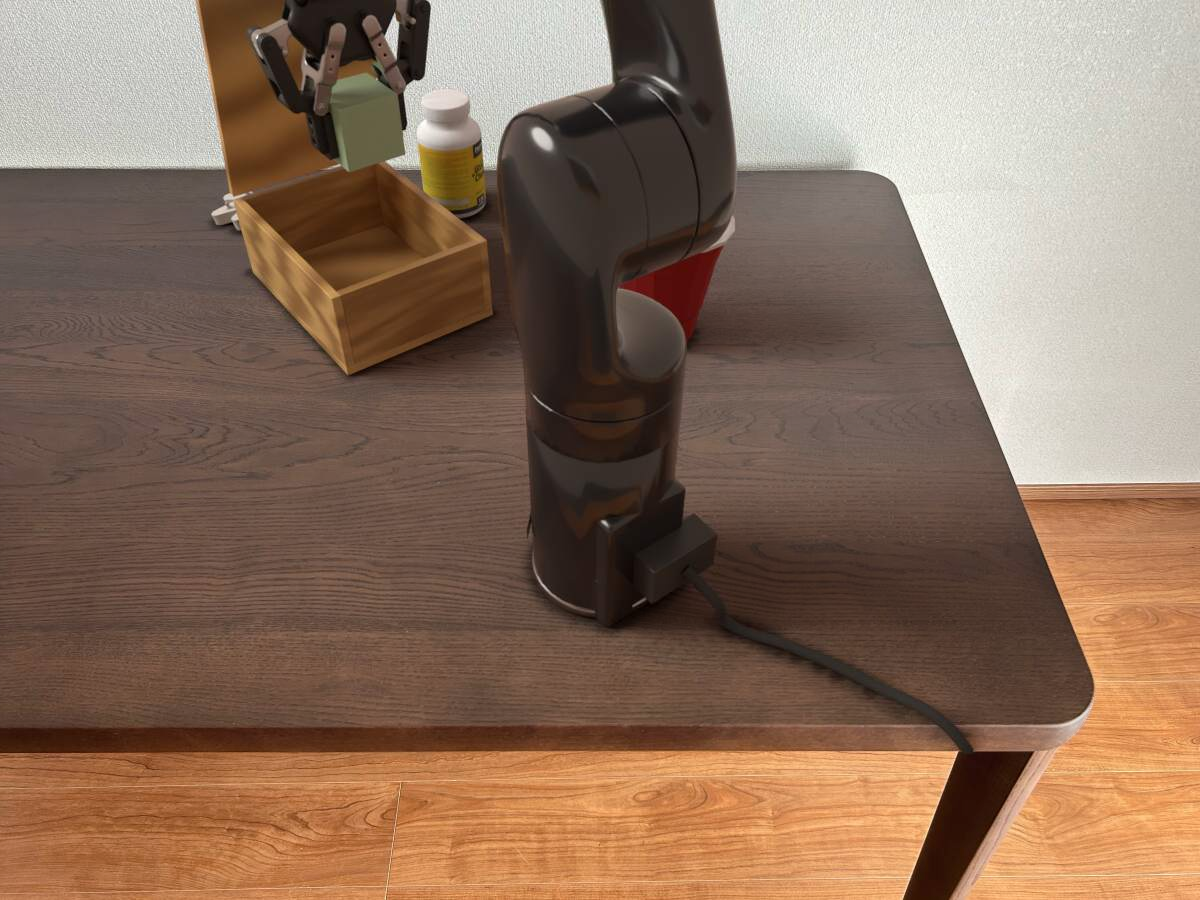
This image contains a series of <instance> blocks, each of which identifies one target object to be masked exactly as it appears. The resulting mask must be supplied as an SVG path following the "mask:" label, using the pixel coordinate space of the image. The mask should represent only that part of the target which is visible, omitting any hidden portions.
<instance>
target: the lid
mask: <svg viewBox="0 0 1200 900" xmlns="http://www.w3.org/2000/svg"><path fill="white" fill-rule="evenodd" d="M194 1H195V5H196V12H197V17H198V22H199V28H200V33H201V37H202V38H201V39H202V44H203V50H204V56H205V61H206V66H207V67H206V68H207V72H208V79H209V83H210V89H211V90H210V91H211V96H212V101H213V107H214V112H215V118H216V123H217V128H218V133H219V134H218V135H219V139H220V145H221V151H222V157H223V162H224V167H225V174H226V179H227V183H228V190H229V193H231V194H232V196H233V197H235V196H238V195H242V194H245V193H248V192H251V191H252V192H255V191H258V190H261V189H264V188H268V187H270V186H273V185H276V184H277V185H278V184H280V183H284V182H286V181H287V182H288V181H290V180H293V179H296V178H299V177H304V176H305V175H309V174H312V173H316V172H320V171H323V170H326V169H328V168H329V169H330V168H332V167H336V166H339V165H340V164H339V163H337V162H336V161H335V160H334V159H333V160H329V159H328V158H327V157H326V156H325V155H323V154H321V153H320V152H319V151H318V150H317V149H315V148H314V146H313V145H312V143H311V139H310V135H309V130H308V125H307V120H306V115H305V113H304V112H302V113H300V114H295V113H293V112H291V111H290V110H289V109H288V108H286V107H285V106H284V105H283V104H282V103H280V102H279V101H278V100H277V99H276V97H275V94H274V92H273V90H272V88H271V86H270V84H269V82H268V80H267V78H266V76H265V74H264V71H263V69H262V67H261V65H260V63H259V61H258V59H257V57H256V55H255V53H254V51H253V48H252V46H251V44H250V42H249V40H248V38H247V30H248V29H249V28H250V27H251V26H259V27H260V28H261V29H263V28H265V27H267V26H269V25H271V24H273V23H274V22H276V21H278V20H280V19H282V17H281V15H282V10H283V7H284V0H194ZM288 47H289V53H288V56H286V57H285V60H286V62H287V65H288V67H289V69H290V71H291V73H292V76H293V78H294V80H295V82H296V84H297V87H298V89H299V90H301V84H302V76H303V73H302V70H301V60H302V53H303V45H302V44H301V43H300V42H299V41H298V40H297V39H296V38H294V37H293V36H292V35H291V36H290V37H289V39H288ZM320 62H321V61H320ZM362 73H368V74H369V75H371V76H372V77H374V78H375V79H377V78H376V76H375V74H374V72H373V70H372V68H371V66H370V64H369V63H368V61H367V60H366V61H353V62H351V63H349V64H347V65H346V66H343V67H339V70H338V76H337V80H340V79H344V78H347V77H351V76H355V75H358V74H362Z"/></svg>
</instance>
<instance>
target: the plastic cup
mask: <svg viewBox="0 0 1200 900" xmlns="http://www.w3.org/2000/svg"><path fill="white" fill-rule="evenodd" d="M735 232H736V221H735V217H734V215H732V217H731V220H730V223H729V225H728V227H727V229H726V231H725V232H724V233H723V235H722V236H721V238H720V239H719V240H718V241H717V242H716V243H715V244H713V245H712V246H711V247H709V248H708V249H706V250H704V251H702V252H701V253H699V254H696V255H694V256H692V257H689V258H687V259H685V260H682V261H680V262H678V263H675V264H672V265H670V266H668V267H665V268H663V269H660V270H658V271H655V272H652V273H650V274H647V275H645V276H642V277H640V278H637V279H635V280H632V281H630V282H627V283H625V284H622V285H619V286H618V288H621V289H626V290H630V291H634V292H637V293H640V294H643V295H645V296H648V297H650V298H652V299H654V300H656V301H657V302H659V303H661V304H662V305H663V306H665V307H666V308H667V309H668V310H669V311H671V312H672V313H673V314H674V315H675V316H676V318H677V319H678V321H679V322H680V324H681V326H682V327H683V330H684V333H685V336H686V342H687V343H688V342H689V340H690V339H691V337H692V334H693V333H694V331H695V329H696V324H697V321H698V317H699V315H700V311H701V310H702V308H703V304H704V302H705V298H706V296H707V292H708V289H709V285H710V283H711V279H712V276H713V274H714V270H715V267H716V265H717V262H718V260H719V259H720V255H721V253H722V250H723V249H724V247H725V244H726V243H727V242H728V241H729V240H730V238H732V236H733V235H734V233H735Z"/></svg>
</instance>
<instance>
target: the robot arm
mask: <svg viewBox="0 0 1200 900" xmlns="http://www.w3.org/2000/svg"><path fill="white" fill-rule="evenodd" d="M599 4H600V8H601V12H602V16H603V20H604V25H605V30H606V37H607V43H608V48H609V56H610V65H611V83H608V84H605V85H602V86H598V87H594V88H591V89H588V90H584V91H583V90H582V91H580V92H576V93H573V94H570V95H566V96H564V97H563V96H562V97H559V98H554V99H551V100H549V101H545V102H542V103H538V104H536V105H532V106H530V107H527V108H524V109H523V110H521V111H519V112H517V113H516V114H515V115H514V116H513V117H512V118H510V120H509V121H508V122H507V124H506V126H505V127H504V130H503V132H502V134H501V138H500V141H499V145H498V149H497V160H496V191H497V200H498V201H497V202H498V211H499V219H500V226H501V233H502V241H503V247H504V255H505V263H506V272H507V273H506V274H507V282H508V292H509V301H510V311H511V316H512V321H513V325H514V329H515V331H516V337H517V341H518V344H519V347H520V352H521V356H522V368H523V384H524V385H523V387H524V402H525V404H524V405H525V425H526V426H525V427H526V445H527V447H526V448H527V462H528V464H527V465H528V481H529V500H530V502H529V503H530V514H529V518H528V522H527V526H526V540H528V539H529V534H530V530H531V533H532V535H531V536H532V557H531V558H532V559H531V560H532V561H531V563H532V572H533V576H534V579H535V582H536V584H537V586H538V587H539V588H540V590H541V592H542V593H543V594H544V595H545V596H546V598H548V600H549V601H551V603H554V604H555V605H556V606H558V607H559V608H560V609H563V610H565V611H568V612H569V613H572V614H576V615H580V616H584V617H590V618H595V619H596V620H598V621H599V622H600V624H601V625H602V626H603V627H605V628H608V627H611V626H613V625H614V624H616V623H618V622H619V621H621V620H622V619H624V618H625V617H627V616H629V615H630V614H632V613H633V612H635V611H637V610H639V609H641V608H643V607H645V606H646V605H647V604H648V603H650V604H651V605H653V604H654V603H656V602H657V601H660V599H663V598H664V597H665V596H667V595H669V594H670V593H671V592H673V591H675V590H676V589H678V588H680V587H681V586H683V585H684V584H685V583H689V584H691V585H692V587H694V588H695V590H697V592H698V593H700V594H701V595H702V597H703V598H704V599H705V600H706V601H707V602H708V603H709V604H710V605H711V607H712V608H713V609H714V618H715V620H716V622H717V623H718V624H719V625H721V626H722V627H723V628H724V629H726V630H728V631H729V632H732V633H734V634H735V635H738V636H740V637H742V638H745V639H748V640H751V641H753V642H754V641H755V642H757V643H760V644H764V645H768V646H771V647H775V648H778V649H781V650H783V651H787V652H789V653H791V654H793V655H796V656H799V657H801V658H802V659H803V658H804V659H806V660H808V661H810V662H813V663H815V664H818V665H819V666H822V667H824V668H826V669H828V670H831V671H833V672H835V673H837V674H839V675H841V676H843V677H845V678H847V679H850V680H851V681H853V682H855V683H857V684H859V685H861V686H862V687H865V688H867V689H868V690H870V691H872V692H874V693H876V694H879V695H880V696H882V697H884V698H887V699H888V700H891V701H892V702H896V703H898V704H900V705H902V706H903V707H906V708H908V709H911V710H912V711H914V712H916V713H917V714H920V715H921V716H923V717H924V718H926V719H928V720H929V721H930V722H932V723H933V724H935V725H936V726H937V727H938V728H940V729H941V731H943V732H944V733H945V734H946V735H947V736H948V737H949V739H950V740H951V741H952V742H953V743H954V745H955V746H956V747H957V748H958V751H960V752H961V753H963V754H964V755H972V754H973V753H974V748H973V746H972V744H971V743H970V741H969V740H968V739H967V737H966V736H965V734H964V733H963V732H962V731H961V730H960V728H958V727H957V726H956V725H955V723H953V722H952V721H951V720H950V719H949V718H947V716H945V715H944V714H943V713H941V712H939V710H937V709H936V708H934V707H932V706H931V705H929V704H927V703H926V702H924V701H922V700H920V699H918V698H916V697H914V696H912V695H910V694H908V693H906V692H904V691H901V690H899V689H897V688H895V687H893V686H890V685H889V684H886V683H884V682H882V681H880V680H878V679H876V678H873V677H872V676H870V675H868V674H866V673H864V672H863V671H860V670H858V669H857V668H854V667H852V666H851V665H849V664H846V663H845V662H843V661H840V660H838V659H836V658H834V657H832V656H829V655H827V654H824V653H822V652H820V651H817V650H816V649H813V648H810V647H808V646H806V645H803V644H802V643H798V642H796V641H794V640H791V639H788V638H785V637H782V636H779V635H776V634H773V633H769V632H765V631H762V630H758V629H756V628H752V627H749V626H747V625H744V624H742V623H740V622H738V621H736V620H735V619H733V618H731V617H729V615H728V614H727V607H726V604H725V602H724V601H723V599H722V598H721V596H720V595H719V594H718V593H717V592H716V591H715V589H713V588H712V587H711V585H710V584H709V583H708V582H707V581H706V580H705V579H704V578H703V577H702V576H701V575H700V574H702V573H703V572H705V571H706V570H708V569H710V568H711V567H712V566H714V563H715V557H716V549H717V542H718V537H719V536H718V533H717V532H716V531H715V530H714V529H713V528H711V526H709V525H708V524H707V523H706V522H705V521H704V520H703V519H701V518H700V517H699V516H698V515H697V514H696V513H692V514H690V515H688V516H687V517H685V518H684V512H685V511H684V510H685V499H686V490H687V489H686V487H685V486H684V485H683V484H682V483H681V482H680V481H679V480H677V478H676V470H677V460H678V448H679V439H680V430H681V429H680V428H681V419H682V408H683V399H684V386H685V378H686V376H685V375H686V368H687V357H688V345H687V343H688V341H687V342H686V336H685V333H684V330H683V327H682V326H681V324H680V322H679V321H678V319H677V318H676V316H675V315H674V314H673V313H672V312H671V311H669V310H668V309H667V308H666V307H665V306H663V305H662V304H661V303H659V302H657V301H656V300H654V299H652V298H650V297H648V296H645V295H643V294H640V293H637V292H634V291H630V290H626V289H621V288H619V285H622V284H625V283H627V282H630V281H632V280H635V279H637V278H640V277H642V276H645V275H647V274H650V273H652V272H655V271H658V270H660V269H663V268H665V267H668V266H670V265H672V264H675V263H678V262H680V261H682V260H685V259H687V258H689V257H692V256H694V255H696V254H699V253H701V252H702V251H704V250H706V249H708V248H709V247H711V246H712V245H713V244H715V243H716V242H717V241H718V240H719V239H720V238H721V236H722V235H723V233H724V232H725V231H726V229H727V227H728V225H729V223H730V220H731V217H732V216H733V213H734V210H735V206H736V199H737V187H738V186H737V185H738V158H737V156H738V155H737V145H736V144H737V143H736V136H735V127H734V120H733V111H732V105H731V99H730V91H729V85H728V79H727V72H726V66H725V65H726V64H725V60H724V54H723V47H722V41H721V40H722V39H721V34H720V33H721V32H720V26H719V20H718V15H717V7H716V2H715V0H599ZM431 11H432V6H431V2H429V1H428V0H284V7H283V10H282V15H281V17H282V19H280V20H278V21H276V22H274V23H273V24H271V25H269V26H267V27H265V28H263V29H261V28H260V27H259V26H251V27H250V28H249V29H248V30H247V38H248V40H249V42H250V44H251V46H252V48H253V51H254V53H255V55H256V57H257V59H258V61H259V63H260V65H261V67H262V69H263V71H264V74H265V76H266V78H267V80H268V82H269V84H270V86H271V88H272V90H273V92H274V94H275V97H276V99H277V100H278V101H279V102H280V103H282V104H283V105H284V106H285V107H286V108H288V109H289V110H290V111H291V112H293V113H295V114H300V113H302V112H304V113H305V115H306V120H307V125H308V130H309V135H310V139H311V143H312V145H313V146H314V148H315V149H317V150H318V151H319V152H320V153H321V154H323V155H325V156H326V157H327V158H328V159H329V160H333V159H336V158H339V151H338V145H337V140H336V135H335V129H334V124H333V118H332V114H331V113H330V112H328V111H329V105H330V99H331V92H332V87H333V86H335V85H336V82H337V76H338V70H339V67H343V66H346V65H347V64H349V63H351V62H353V61H366V60H367V61H368V63H369V64H370V66H371V68H372V70H373V72H374V74H375V76H376V79H377V80H378V81H379V82H381V83H382V84H384V85H385V86H387V87H388V88H390V89H391V90H392V91H394V92H395V93H397V95H398V102H399V110H400V117H401V125H402V132H403V133H404V132H405V131H406V130H407V127H408V117H407V109H406V101H405V91H406V89H407V86H408V85H409V84H410V83H412V82H413V81H415V82H419V81H421V80H423V79H424V77H425V75H426V66H427V55H428V46H429V33H430V22H431ZM394 16H395V20H396V21H397V22H398V32H397V44H396V45H397V46H396V57H395V54H394V53H393V51H392V48H391V47H390V45H389V43H388V40H387V39H386V34H387V31H388V30H389V27H390V26H391V23H392V20H393V19H394ZM291 35H292V36H293V37H294V38H296V39H297V40H298V41H299V42H300V43H301V44H302V45H303V53H302V60H301V70H302V73H303V76H302V84H301V90H299V89H298V87H297V84H296V82H295V80H294V78H293V76H292V73H291V71H290V69H289V67H288V65H287V62H286V60H285V57H286V56H288V53H289V47H288V39H289V37H290V36H291ZM320 61H321V62H320Z"/></svg>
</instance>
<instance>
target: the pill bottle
mask: <svg viewBox="0 0 1200 900" xmlns="http://www.w3.org/2000/svg"><path fill="white" fill-rule="evenodd" d="M421 111H422V115H423V117H424V118H425V119H424V120H422V121H421V122H420V123H419V125H418V127H417V129H416V143H417V150H418V158H419V166H420V174H421V179H422V181H421V182H422V190H423V191H424V192H425V193H426V194H428V195H429V196H430V197H432V198H433V199H434V200H435V201H437V202H438V203H439V204H441V205H442V206H443V207H444V208H446V209H447V210H448V211H450V212H451V213H452V214H453V215H455V216H456V217H457V218H459V219H464V218H465V219H466V218H468V217H472V216H474V215H476V214H477V213H479V212H480V211H482V210H483V208H485V205H486V204H487V203H486V202H487V193H486V180H485V167H484V154H483V142H482V141H483V140H482V139H483V138H482V130H481V126H480V125H479V123H478V122H477V121H476V120H475V119H474V118H473V117H472V116H469V115H470V113H471V102H470V96H469V95H468V94H467V93H465V91H461V90H457V89H436V90H433V91H429V92H427V93H426V94H424V95H423V96H422V98H421Z"/></svg>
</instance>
